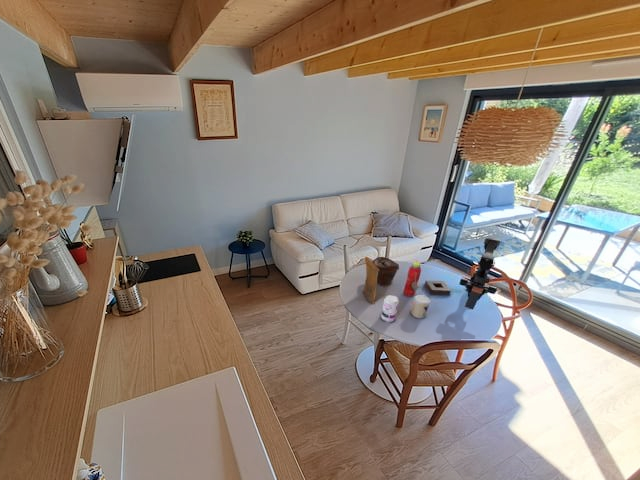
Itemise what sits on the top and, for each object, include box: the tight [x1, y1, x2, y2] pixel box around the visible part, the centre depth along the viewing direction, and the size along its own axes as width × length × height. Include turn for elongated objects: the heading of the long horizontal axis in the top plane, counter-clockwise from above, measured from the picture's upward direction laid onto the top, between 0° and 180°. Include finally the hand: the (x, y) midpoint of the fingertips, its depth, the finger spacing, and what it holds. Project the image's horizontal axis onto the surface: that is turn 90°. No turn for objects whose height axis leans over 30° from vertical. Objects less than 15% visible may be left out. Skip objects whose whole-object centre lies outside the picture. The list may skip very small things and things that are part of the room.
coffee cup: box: [410, 294, 431, 319], centre depth 177 cm, size 9×9×12 cm
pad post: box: [464, 286, 483, 310], centre depth 172 cm, size 5×5×13 cm
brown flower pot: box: [372, 256, 400, 287], centre depth 211 cm, size 18×20×18 cm
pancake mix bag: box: [363, 255, 379, 304], centre depth 191 cm, size 7×19×28 cm, turn 2°
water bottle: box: [403, 261, 422, 297], centre depth 192 cm, size 12×8×25 cm, turn 167°
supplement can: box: [380, 294, 400, 323], centre depth 173 cm, size 8×8×15 cm
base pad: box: [424, 280, 452, 296], centre depth 203 cm, size 13×13×4 cm
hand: (473, 298), depth 171 cm, fingers closed on pad post, 5 cm apart
